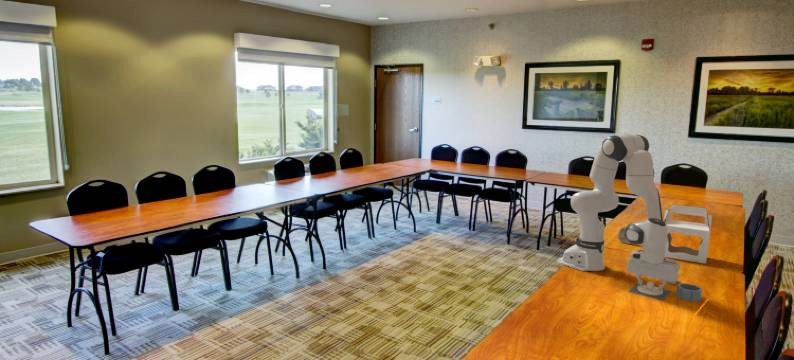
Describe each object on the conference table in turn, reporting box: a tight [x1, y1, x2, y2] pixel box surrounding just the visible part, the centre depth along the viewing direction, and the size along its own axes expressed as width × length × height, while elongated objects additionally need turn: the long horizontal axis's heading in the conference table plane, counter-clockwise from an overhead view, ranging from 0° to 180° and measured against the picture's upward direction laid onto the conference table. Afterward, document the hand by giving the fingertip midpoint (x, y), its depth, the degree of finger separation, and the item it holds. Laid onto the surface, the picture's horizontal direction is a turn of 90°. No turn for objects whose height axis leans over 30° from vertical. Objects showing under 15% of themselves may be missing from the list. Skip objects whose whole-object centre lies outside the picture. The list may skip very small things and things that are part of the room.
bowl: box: [675, 282, 703, 302], centre depth 216 cm, size 9×9×5 cm
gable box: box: [663, 204, 713, 264], centre depth 272 cm, size 22×13×28 cm, turn 57°
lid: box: [637, 281, 663, 296], centre depth 222 cm, size 10×10×4 cm
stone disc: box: [617, 226, 633, 245], centre depth 298 cm, size 10×4×10 cm, turn 41°
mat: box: [627, 283, 672, 301], centre depth 222 cm, size 14×14×1 cm
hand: (650, 286), depth 222 cm, fingers open, 7 cm apart
